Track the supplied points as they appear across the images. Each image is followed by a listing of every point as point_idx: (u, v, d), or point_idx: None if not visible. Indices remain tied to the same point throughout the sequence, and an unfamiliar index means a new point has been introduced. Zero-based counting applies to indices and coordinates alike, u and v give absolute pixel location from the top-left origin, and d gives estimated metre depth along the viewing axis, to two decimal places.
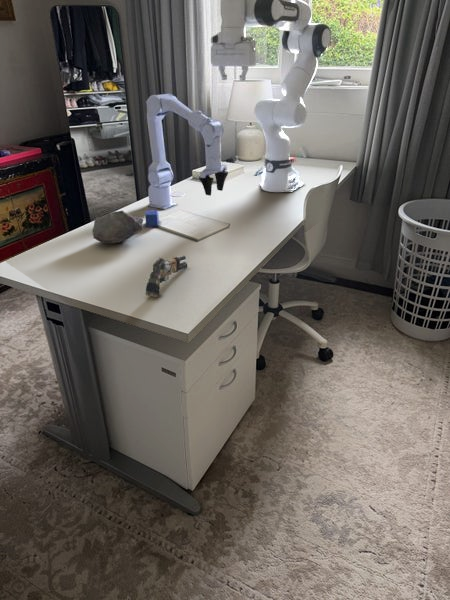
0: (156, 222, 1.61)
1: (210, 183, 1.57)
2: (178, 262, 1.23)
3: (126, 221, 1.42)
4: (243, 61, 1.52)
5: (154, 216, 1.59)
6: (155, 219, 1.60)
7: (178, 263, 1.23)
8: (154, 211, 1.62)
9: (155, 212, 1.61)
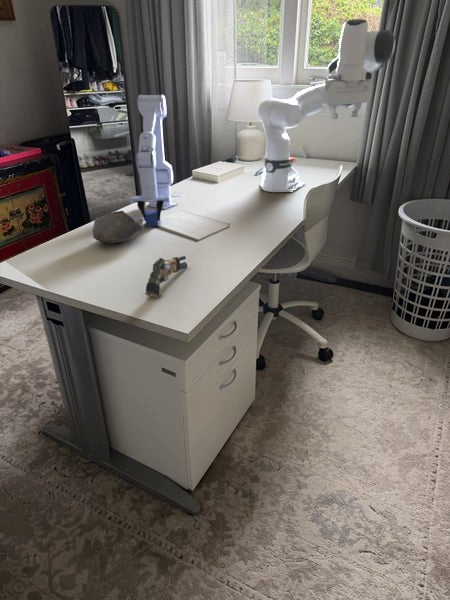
0: (156, 222, 1.61)
1: (141, 209, 1.58)
2: (178, 262, 1.23)
3: (126, 221, 1.42)
4: None
5: (154, 216, 1.59)
6: (155, 219, 1.60)
7: (178, 263, 1.23)
8: (154, 211, 1.62)
9: (155, 212, 1.61)
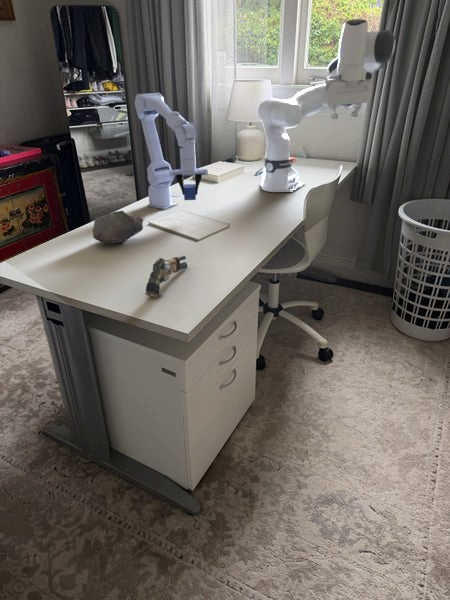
0: (194, 195, 1.63)
1: (180, 183, 1.61)
2: (178, 262, 1.23)
3: (126, 221, 1.42)
4: None
5: (192, 189, 1.62)
6: (193, 192, 1.62)
7: (178, 263, 1.23)
8: (192, 185, 1.64)
9: (193, 186, 1.64)
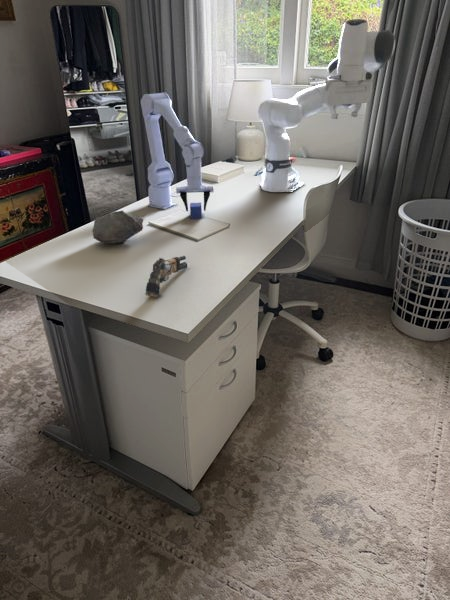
0: (200, 214, 1.68)
1: (183, 200, 1.65)
2: (178, 262, 1.23)
3: (126, 221, 1.42)
4: None
5: (198, 208, 1.67)
6: (199, 211, 1.67)
7: (178, 263, 1.23)
8: (198, 204, 1.69)
9: (199, 204, 1.68)
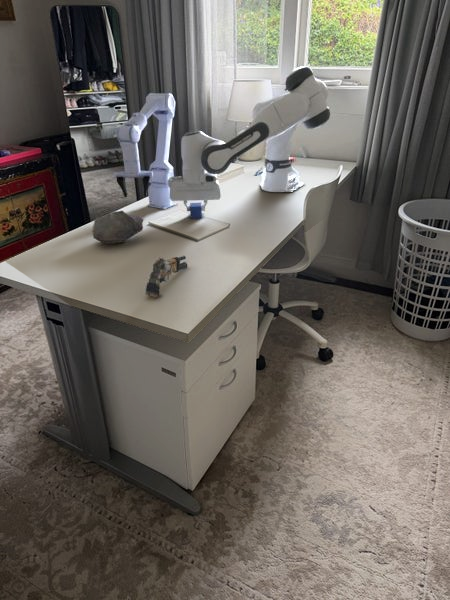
0: (200, 214, 1.68)
1: (120, 185, 1.59)
2: (178, 262, 1.23)
3: (126, 221, 1.42)
4: None
5: (198, 208, 1.67)
6: (199, 211, 1.67)
7: (178, 263, 1.23)
8: (198, 204, 1.69)
9: (199, 204, 1.68)
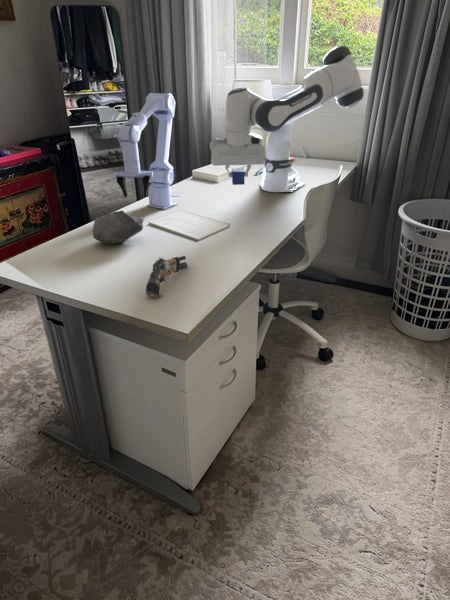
0: (243, 180, 1.58)
1: (120, 185, 1.59)
2: (178, 262, 1.23)
3: (126, 221, 1.42)
4: None
5: (242, 173, 1.57)
6: (242, 177, 1.57)
7: (178, 263, 1.23)
8: (240, 169, 1.59)
9: (242, 170, 1.58)
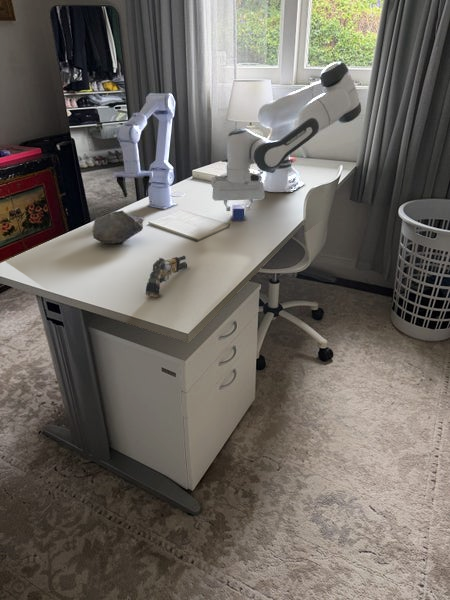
0: (243, 216, 1.65)
1: (120, 185, 1.59)
2: (178, 262, 1.23)
3: (126, 221, 1.42)
4: None
5: (242, 210, 1.64)
6: (242, 213, 1.64)
7: (178, 263, 1.23)
8: (241, 206, 1.66)
9: (242, 206, 1.66)
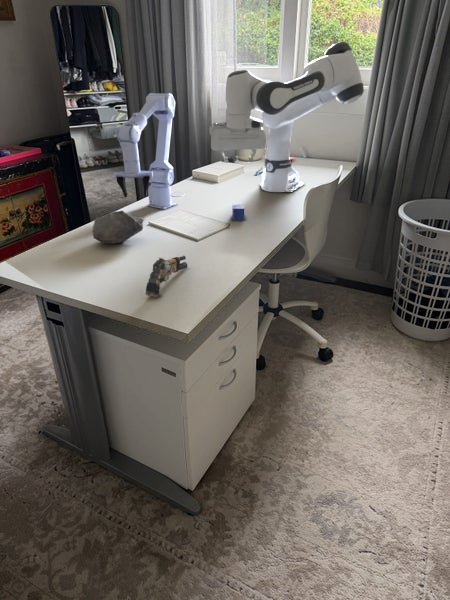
0: (243, 216, 1.65)
1: (120, 185, 1.59)
2: (178, 262, 1.23)
3: (126, 221, 1.42)
4: None
5: (242, 210, 1.64)
6: (242, 213, 1.64)
7: (178, 263, 1.23)
8: (241, 206, 1.66)
9: (242, 206, 1.66)
